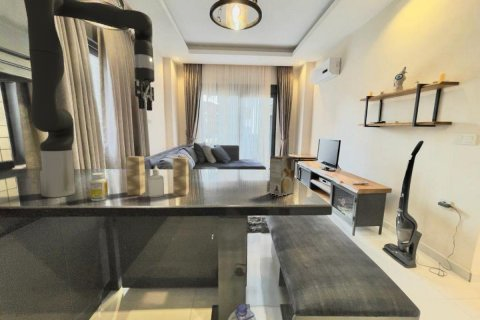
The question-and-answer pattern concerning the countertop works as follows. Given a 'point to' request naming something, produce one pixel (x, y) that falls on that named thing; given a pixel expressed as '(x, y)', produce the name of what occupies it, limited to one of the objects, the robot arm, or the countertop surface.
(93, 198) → the supplement bottle
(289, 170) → the coffee box
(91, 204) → the countertop surface
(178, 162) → the post right
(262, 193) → the countertop surface
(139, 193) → the post left
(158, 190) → the eye dropper bottle
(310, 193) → the countertop surface
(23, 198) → the countertop surface
